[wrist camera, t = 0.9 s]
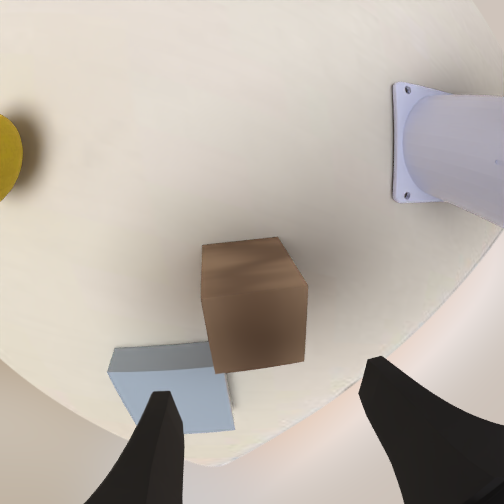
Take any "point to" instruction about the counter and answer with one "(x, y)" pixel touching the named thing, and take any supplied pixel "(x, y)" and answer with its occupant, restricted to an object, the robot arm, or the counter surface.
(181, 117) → the counter surface
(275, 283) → the walnut block
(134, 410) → the blue-gray block
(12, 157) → the lemon
